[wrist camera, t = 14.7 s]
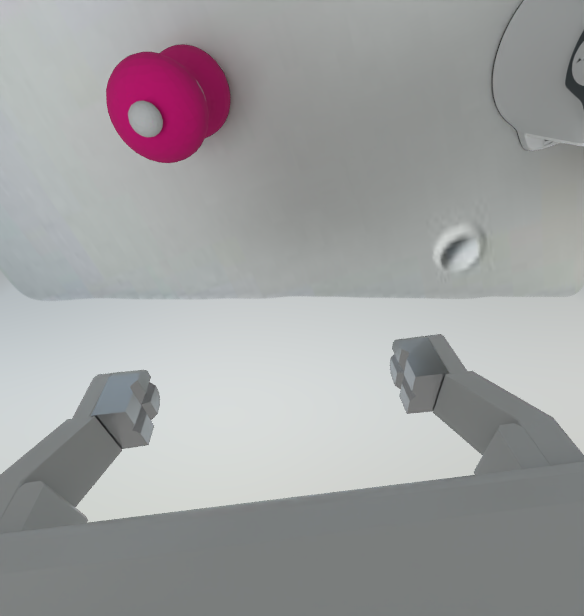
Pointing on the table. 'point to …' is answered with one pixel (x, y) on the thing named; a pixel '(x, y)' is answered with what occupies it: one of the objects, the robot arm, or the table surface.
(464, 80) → the table surface
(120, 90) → the pepper mill
